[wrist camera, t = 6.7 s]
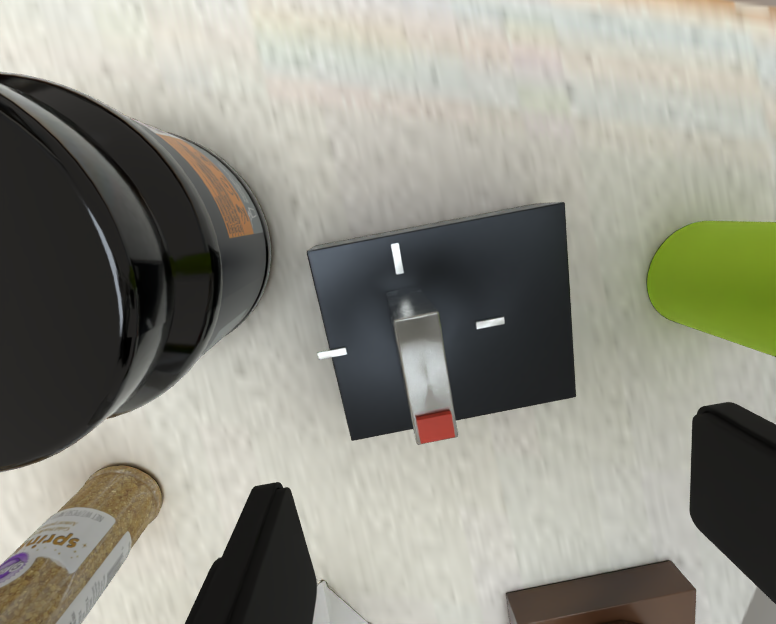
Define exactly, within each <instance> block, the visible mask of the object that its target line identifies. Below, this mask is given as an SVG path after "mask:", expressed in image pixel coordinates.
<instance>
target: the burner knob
mask: <svg viewBox="0 0 776 624" xmlns="http://www.w3.org/2000/svg"><path fill="white" fill-rule="evenodd" d="M386 296H387V301H388V306H389V312H390V317H391V322H392V327H393V333H394V338H395V343H396V348H397V354H398V359H399V364H400V369H401V374H402V380H403V385H404V390H405V394H406V399H407V403H408V407H409V412H410V416H411V421H412V425H413V430H414V434H415V439H416V443H417V444H418V445H419V444H424V443H429V442H434V441H439V440H444V439H449V438H454V437H458V432H457V425H456V419H455V413H454V406H453V400H452V393H451V387H450V381H449V374H448V368H447V361H446V355H445V349H444V342H443V336H442V329H441V323H440V316H439V312H438V311H437V309H436V308H435V307H434V305H433V304H432V303H431V301H430V300H429V299H428V297H427V296H426V295H425V293H424V292H423V291H422V289H421V288H420V287H419V286H418V285H417V286H412V287H407V288H402V289H397V290H392V291H387V292H386Z"/></svg>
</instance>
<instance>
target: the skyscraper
mask: <svg viewBox="0 0 776 624" xmlns="http://www.w3.org/2000/svg"><path fill="white" fill-rule="evenodd" d="M313 624H369V623H367V622H366V621H365V620H364V619H363V618H362V617H361V616H360V615H359V614H357V613H356V612H355V611H354V610H353V609H352V608H351V607H350V606H348V605H347V604H346V603H345V602H344V601H343V600H342V599H341V598H339V597H338V596H337V595H336V594H335V593H334V592H333V591H332V590H331V589H329V588H328V587H327V584H326V582H325V581H322V582H321V583H320V584H319V585H318V586H317V597H316V604H315V610H314V617H313Z"/></svg>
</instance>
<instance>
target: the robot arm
mask: <svg viewBox="0 0 776 624" xmlns="http://www.w3.org/2000/svg"><path fill="white" fill-rule="evenodd" d="M690 515H691V518H692V520H693V522H694V524H695V525H696V527H697V528H698V529H699V530H700V531H701V532H702V533H703V534H704V535H705V536H706V537H707V538H708V539H709V540H710V541H711V542H712V543H713V544H714V545H715V546H716V547H717V548H718V549H719V550H720V551H721V552H722V553H723V554H725V555H726V556H727V557H728V558H729V559H730V560H731V561H732V562H733V563H734V564H735V565H736V566H737V567H738V568H739V569H740V570H741V571H742V572H743V573H744V574H745V575H746V576H747V577H748V578H749V579H750V580H751V581H752V582H753V583H754V584H755V585H756V586H758V587H759V588H760V589H761V590H762V591H763V592H764V593H765V594H766V595H767V596H768V597H769V598H770V599H771V600H772V601H773V602H774V603H775V604H776V425H775V424H773V423H772V422H770V421H768V420H766V419H764V418H762V417H760V416H758V415H756V414H754V413H752V412H751V411H749V410H747V409H745V408H743V407H741V406H739V405H737V404H734V403H732V402H726V403H720V404H714V405H709V406H703V407H701V408H700V409H699V410H698V412H697V415H695V416H694V417H693V421H692V450H691V483H690ZM316 597H317V582H316V576H315V572H314V569H313V565H312V562H311V559H310V555H309V552H308V548H307V545H306V541H305V538H304V534H303V531H302V527H301V524H300V520H299V517H298V513H297V510H296V506H295V503H294V499H293V496H292V493H291V490H290V488H288V487H286V488H283V486H282V484H281V483H279V482H276V483H270V484H265V485H259V486H255V487H253V489H252V490H251V493H250V495H249V497H248V499H247V502H246V504H245V506H244V508H243V511H242V513H241V515H240V517H239V520H238V522H237V524H236V526H235V529H234V531H233V533H232V535H231V538H230V540H229V542H228V544H227V547H226V549H225V551H224V553H223V556H222V557H221V558H218V559H217V560H216V561H215V562H214V563H213V565H212V567H211V568H210V570H209V572H208V575H207V577H206V579H205V581H204V583H203V585H202V588H201V590H200V592H199V594H198V596H197V598H196V601H195V603H194V605H193V607H192V609H191V611H190V614H189V616H188V618H187V620H186V622H185V624H313V617H314V610H315V604H316Z"/></svg>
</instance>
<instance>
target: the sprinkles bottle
mask: <svg viewBox="0 0 776 624" xmlns="http://www.w3.org/2000/svg"><path fill="white" fill-rule="evenodd" d="M161 505H162V495H161V492H160V489H159V487H158V485H157V483H156V481H155V480H153V479H152V478H151V477H150V476H149V475H148V474H146V473H144V472H142V471H140V470H138V469H136V468H132V467H130V466H122V465H121V466H112V467H106V468H104V469H100V470H99V471H97V472H96V473H95V474H93V475H92V476H91V477H90V478H89V479H88V480H87V482H86V483H85V485H84V486H83V487H82V488H81V489H80V490H79V492H78V493H77V494H76V495H75V496H73V497H72V498H71V499H70V500H69V501H68V502H67V503H66V504H65V505H64V506H63V507H62V508H61V509H60V510H59V511H58V512H57V513H56V514H54V515H53V516H51V517H50V518H49V519H48V520H47V521H46V522H45V523H44V524H43V525H42V526H40V527H39V528H38V529H37V530H36V531H35V532H34V533H33V534H32V535H31V536H30V537H29V538H28V539H27V540H26V541H25V542H24V543H23V544H22V545H21V546H20V547H19V548H18V549H17V550H16V551H15V552H14V553H13V554H12V555H11V556H10V557H9V558H7V559H6V560H5V561H4V562H3V563H2V564H1V565H0V624H81V623H82V622H83V620H84V619H85V617H86V616H87V615H88V613H89V612H90V610H91V609H92V607H93V606H94V604H95V603H96V601H97V600H98V599H99V597H100V596H101V594H102V593H103V591H104V590H105V589H106V587H107V586H108V584H109V583H110V581H111V580H112V578H113V577H114V576H115V574H116V573H117V571H118V570H119V568H120V567H121V565H122V564H123V563H124V561H125V560H126V558H127V557H128V554H129V552H130V550H131V548H132V547H133V545H134V544H135V542H136V541H137V540H138V538H139V537H140V535H141V534H142V532H143V531H144V530H145V528H146V527H147V525H148V524H149V523H151V522H152V521H153V520H154V519H155V518H156V516H157V515H158V513H159V511H160V508H161Z"/></svg>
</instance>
